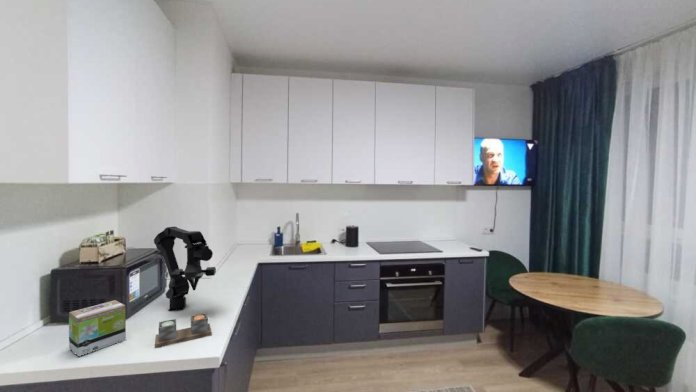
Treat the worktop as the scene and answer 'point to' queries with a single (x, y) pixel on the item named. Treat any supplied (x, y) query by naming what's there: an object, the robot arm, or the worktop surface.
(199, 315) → the terracotta button
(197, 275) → the robot arm
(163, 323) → the sage button
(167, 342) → the button board
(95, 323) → the tea box
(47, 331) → the worktop surface
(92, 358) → the worktop surface
